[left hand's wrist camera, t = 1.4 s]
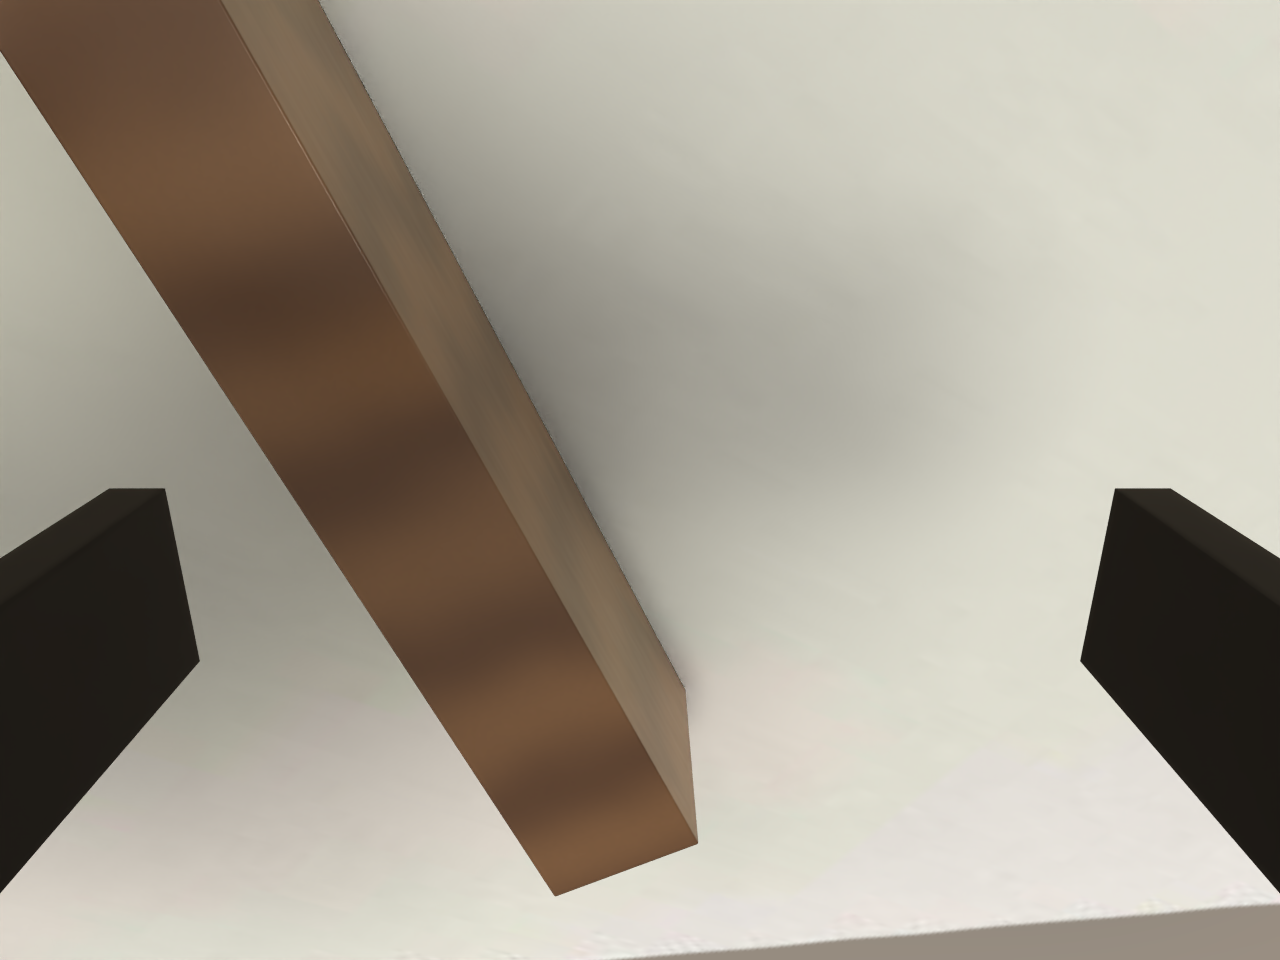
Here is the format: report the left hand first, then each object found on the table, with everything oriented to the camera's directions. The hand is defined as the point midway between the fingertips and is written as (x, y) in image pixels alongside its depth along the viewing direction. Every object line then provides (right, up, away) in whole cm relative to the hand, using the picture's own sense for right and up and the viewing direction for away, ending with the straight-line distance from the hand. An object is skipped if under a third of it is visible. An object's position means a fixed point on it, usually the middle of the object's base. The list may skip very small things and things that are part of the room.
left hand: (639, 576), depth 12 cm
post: (-16, +24, +11) cm, 31 cm away
